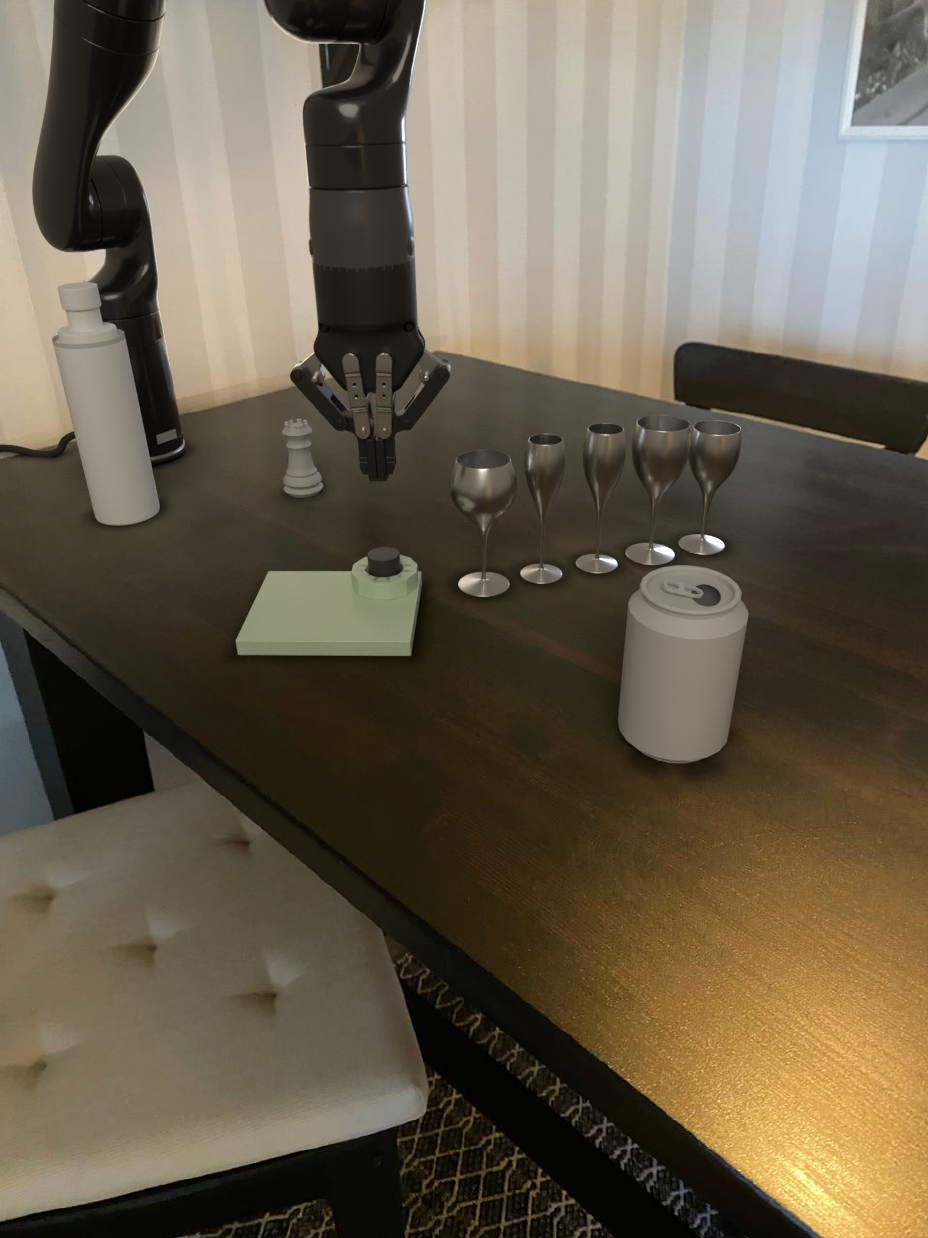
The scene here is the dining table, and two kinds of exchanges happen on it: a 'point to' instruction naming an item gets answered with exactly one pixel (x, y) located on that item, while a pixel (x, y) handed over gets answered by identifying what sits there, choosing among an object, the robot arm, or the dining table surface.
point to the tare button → (384, 562)
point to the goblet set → (596, 486)
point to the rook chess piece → (300, 462)
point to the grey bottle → (104, 410)
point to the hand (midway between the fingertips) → (378, 477)
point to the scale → (334, 613)
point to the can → (681, 663)
